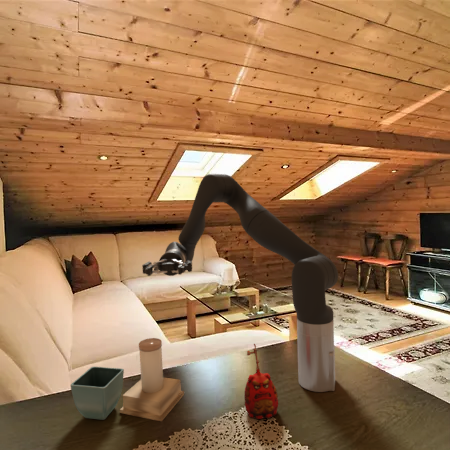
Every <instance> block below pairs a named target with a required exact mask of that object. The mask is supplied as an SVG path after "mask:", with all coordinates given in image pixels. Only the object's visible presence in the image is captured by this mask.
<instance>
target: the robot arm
mask: <svg viewBox="0 0 450 450" xmlns="http://www.w3.org/2000/svg"><path fill="white" fill-rule="evenodd" d="M213 203H224V204H227V205H228V206H230V207H231V208H232V209H233V210H234V212H236V213H237V214H238V218H239V220H240V224H241V226H242V228H243V230H244V232H245V233H246V234H247V235H248V236H249V237H250V238H251V239H252V240H253V241H255V242H256V243H257V244H258V245H260V246H261V247H263V248H265V249H266V250H269V251H271V252H273V253H275V254H277V255H279V256H282V257H283V258H284V259H286V260H288V261H289V262H291V263H292V264H293V267H292V271H291V290H292V303H293V304H292V305H293V308H294V310H295V312H296V335H297V336H296V337H297V341H296V342H297V370H298V372H297V374H298V377H297V378H298V384H299V385H300V386H301V388H304V389H305V390H308V391H311V392H315V393H323V392H328V391H330V392H335V388H336V361H335V360H336V354H335V353H336V351H335V349H336V347H335V336H334V335H335V332H334V331H335V330H334V329H335V328H334V327H335V326H334V324H335V323H334V310H333V308H332V307H331V306H330V305H328V304H327V303H326V302H327V300H326V291H327V290H329V289H331V288H334V286H335V285H336V284H337V282H338V279H339V271H338V268H337V267H336V264H335V263H334V262H333V261H332V260H331V259H330V258H329V257H327V255H325V254H323V253H322V252H320V251H319V250H318V249H316V248H315V247H313V246H312V245H310V244H309V243H307V242H306V241H305V240H303V239H302V238H301V237H299V236H298V235H297V234H296V233H295V232H294V231H292V230H291V229H290V228H289V227H288V226H287V225H286V224H284V223H283V222H282V221H281V220H280V219H279V218H278V217H277V216H276V215H274V214H273V213H272V212H270V211H269V210H268V208H266V207H264V206H263V205H262V204H261V203H260V202H258V201H257V200H256V199H255V198H253V197H252V196H251V195H250V194H249V193H248V192H247V191H246V190H245V189H244V188H243V187H242V186H241V185H240V184H239V183H238V181H236V179H234V178H233V177H232V176H231V175H228V174H225V173H224V174H223V173H208V174H206V175H204V177H202V180H200V184H199V185H198V188H197V191H196V195H195V197H194V200H193V204H192V207H191V209H190V210H191V211H190V213H189V215H188V218H187V220H186V222H185V224H184V225H183V226H182V229H181V231H180V233H179V235H178V237H177V238H178V239H177V240H178V241H172V242H170V243H169V244H168V245H167V246H166V248H165V251H164V253H163V254H162V255H161V256H160V258H159V260H158V261H157V260H156V261H154V262H153V263H152V261H146V262H145V263H143V264H142V274H144V275H147V276H148V277H150V276H152V275H153V274H156V275H157V274H158V275H159V274H164V275H166V276H170V277H173V276H176V275H182V274H183V273H186V271H187V272H188V273H191V272H193V261H194V260H193V259H194V255H195V250H196V247H197V245H198V243H199V241H200V240H201V238H202V236H203V235H204V233H205V230H206V229H205V228H206V213H207V212H208V209H209V208H210V207H211V205H212V204H213Z"/></svg>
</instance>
